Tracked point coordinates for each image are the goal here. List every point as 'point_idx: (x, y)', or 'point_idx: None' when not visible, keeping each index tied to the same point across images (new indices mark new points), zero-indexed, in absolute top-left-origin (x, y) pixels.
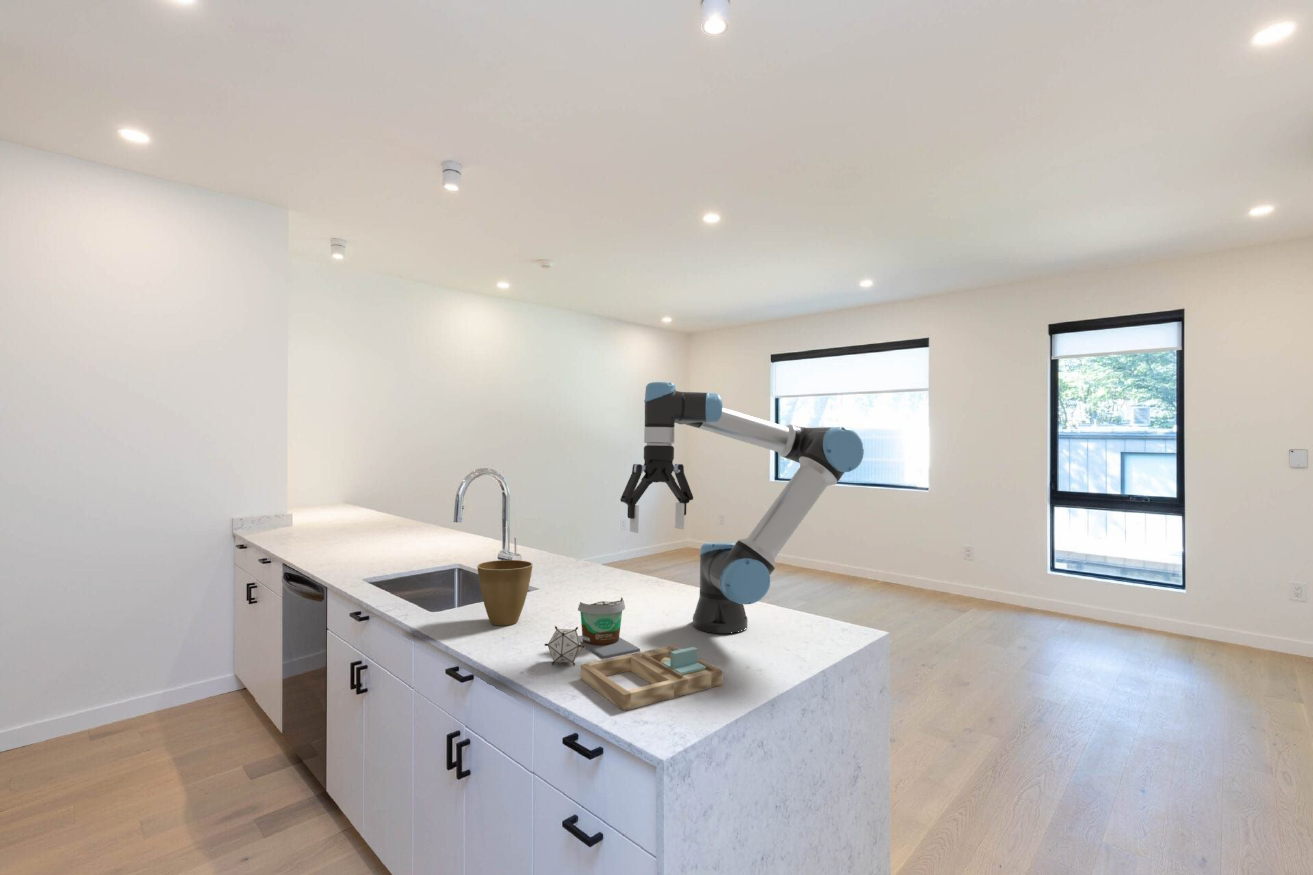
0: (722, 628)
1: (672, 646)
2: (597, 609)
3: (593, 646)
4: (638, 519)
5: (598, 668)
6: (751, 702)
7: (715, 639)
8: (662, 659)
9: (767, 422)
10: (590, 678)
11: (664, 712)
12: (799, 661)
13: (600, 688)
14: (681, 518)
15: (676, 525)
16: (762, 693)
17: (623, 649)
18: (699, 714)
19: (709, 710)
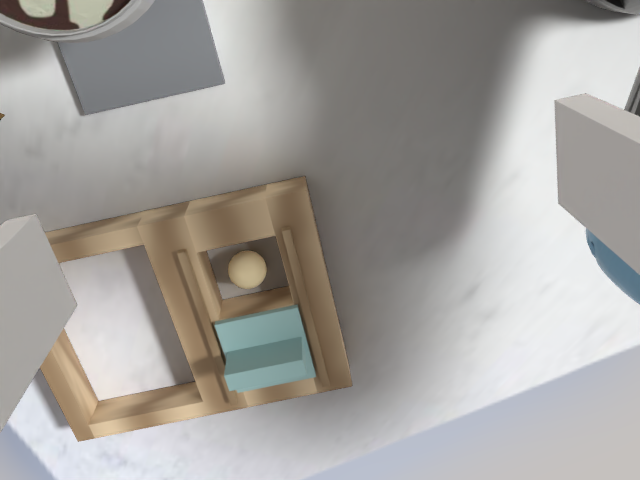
0: (600, 5)
1: (301, 197)
2: (14, 28)
3: None
4: (30, 382)
5: None
6: (360, 444)
7: (530, 49)
8: (234, 275)
9: None
10: None
11: (170, 439)
12: (624, 295)
13: None
14: (610, 248)
15: (568, 127)
16: (407, 419)
17: (164, 74)
18: (235, 460)
19: (261, 452)
